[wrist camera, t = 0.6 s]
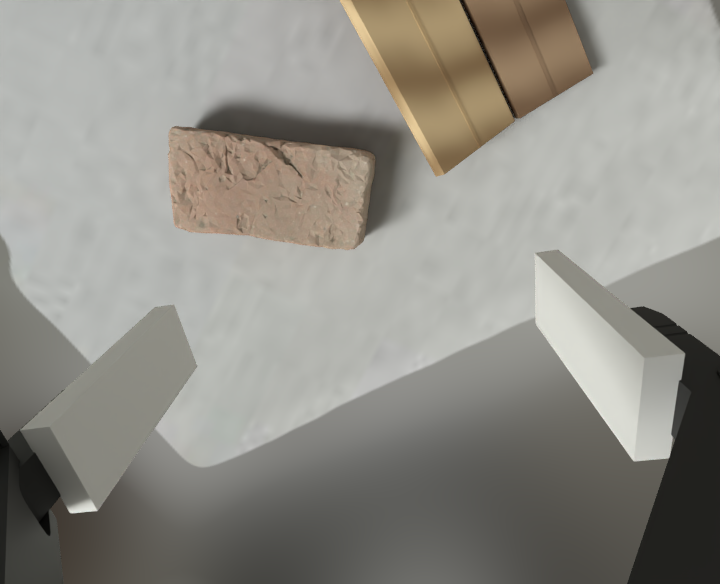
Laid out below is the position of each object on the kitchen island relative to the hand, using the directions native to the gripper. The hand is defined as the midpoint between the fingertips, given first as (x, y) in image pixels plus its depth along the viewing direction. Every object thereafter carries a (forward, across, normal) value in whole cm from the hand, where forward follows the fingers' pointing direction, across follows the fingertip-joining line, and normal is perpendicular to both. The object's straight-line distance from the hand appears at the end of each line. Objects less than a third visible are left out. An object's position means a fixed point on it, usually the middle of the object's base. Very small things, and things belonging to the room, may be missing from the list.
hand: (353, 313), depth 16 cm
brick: (+26, -8, +2) cm, 27 cm away
